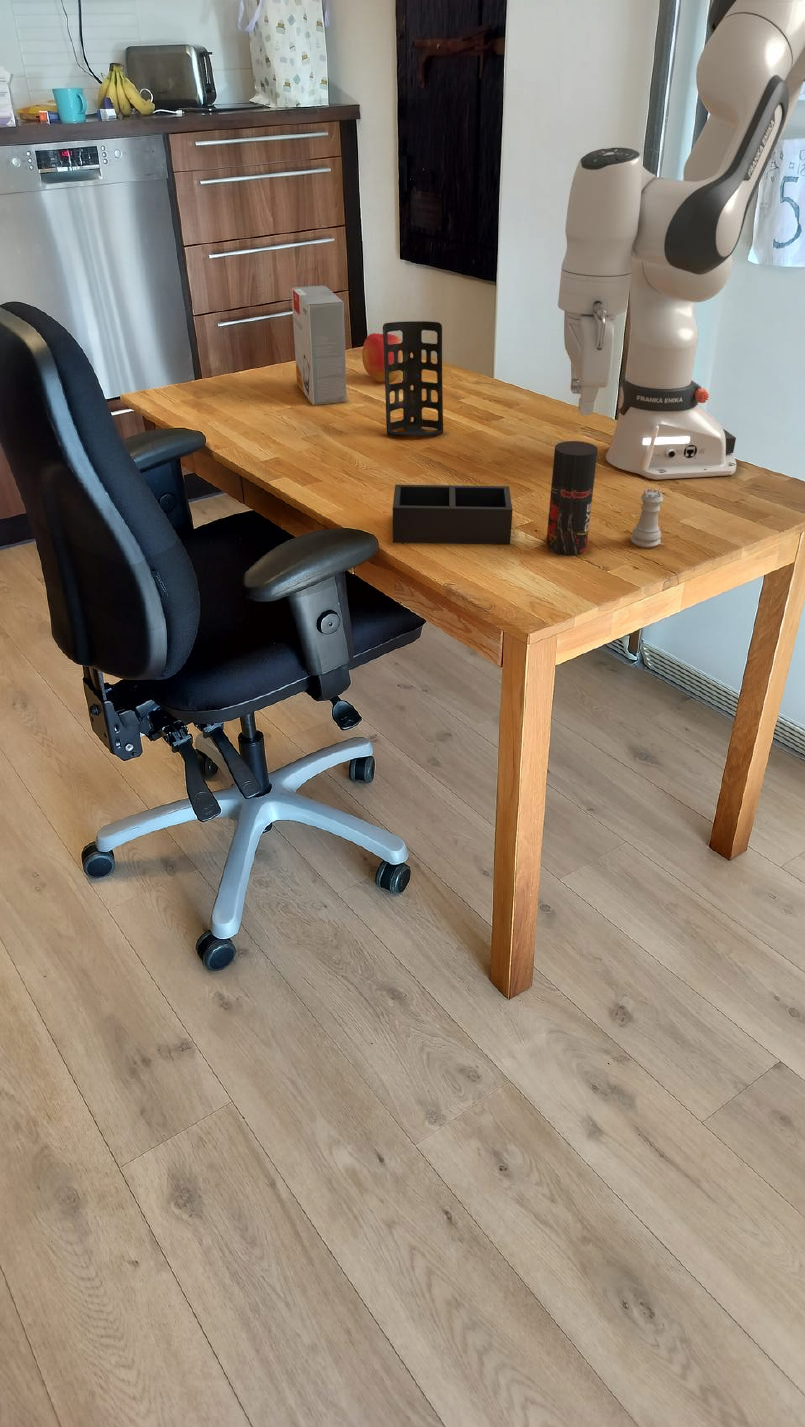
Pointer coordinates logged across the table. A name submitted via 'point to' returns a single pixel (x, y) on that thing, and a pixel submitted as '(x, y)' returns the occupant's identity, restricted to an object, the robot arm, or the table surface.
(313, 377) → the hard drive box
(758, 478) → the table surface
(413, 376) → the holder
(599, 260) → the robot arm
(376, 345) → the apple
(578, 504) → the deodorant
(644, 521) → the rook chess piece
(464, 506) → the box
